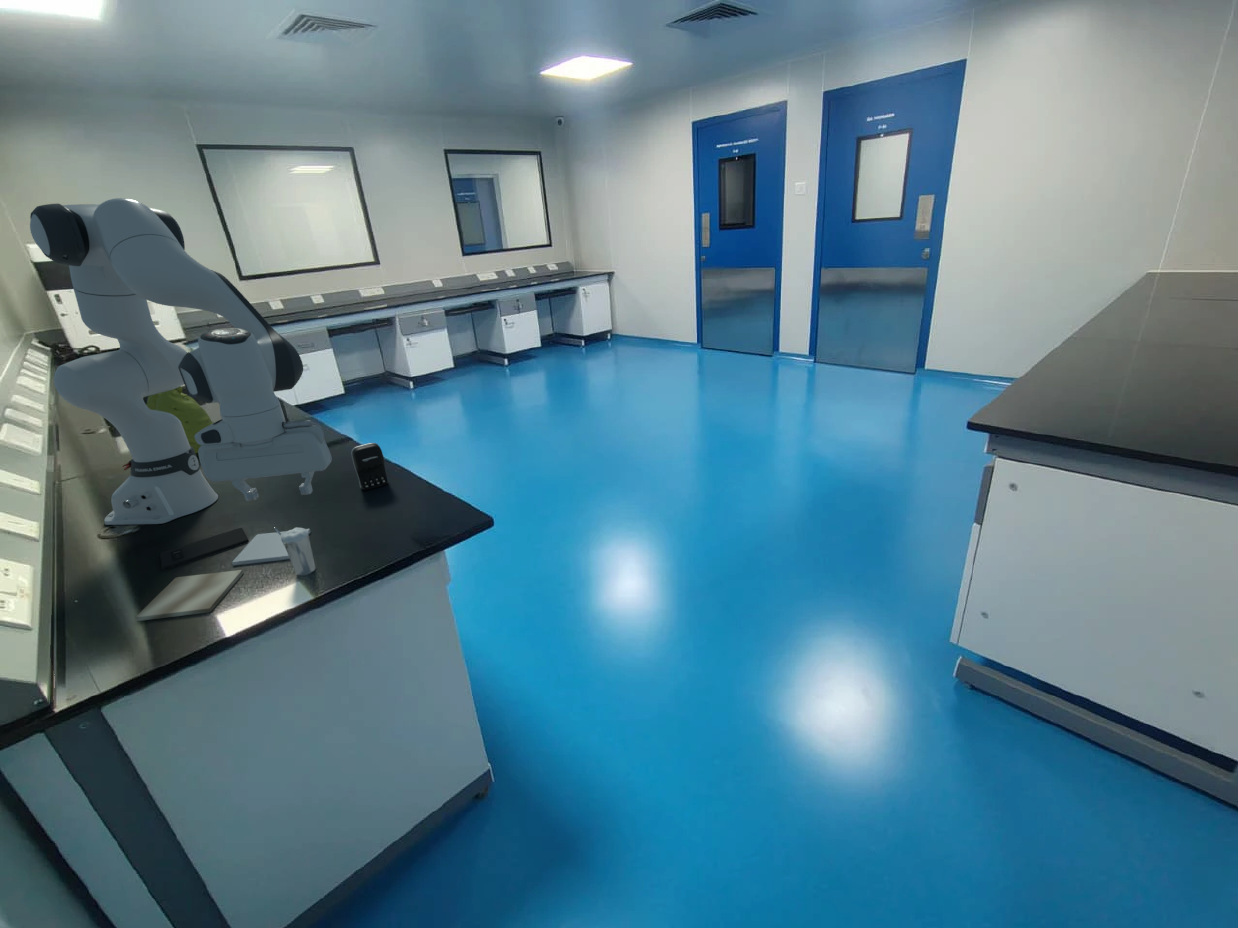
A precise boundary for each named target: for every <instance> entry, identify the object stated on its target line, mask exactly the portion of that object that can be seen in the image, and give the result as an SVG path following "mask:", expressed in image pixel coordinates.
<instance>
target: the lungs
mask: <svg viewBox="0 0 1238 928" xmlns="http://www.w3.org/2000/svg"><path fill="white" fill-rule="evenodd" d="M145 404H146V405H147V407H148V408H149V409H150V410H157V411H163V412H167V413H170V414H172V415H174V416H176V417H177V418H178V419H179V420H180V421H181V424H182V426H183V429H184V431H185V434H186V437H187V439H188V442H189V444H190V446H192V447H193V449H194V451H195V454H196V455H197V454H198V451H199V448H200V447H201V446H202V445H199V444H198V443H197V442H196V440H195V437H194V436H195V434H196V433H198V432H199V431H200V430H202V429H203V428H205V427H207V426H209V425H211V424H213V423H215V422H214V421H212V419H211V416H210V415H209V414H208V413H207V410H205V409H204V408H203V407H202V406H201V405H200V404H199V403H198V402H197V401H196V399H195V398H193V397H191V396H190V395H188V394H186V393H184V392H183V388H182V386H180V387H178V388H176V389H173V390H170V391H166V392H162V393H158V394H154V395H151V396H147V401H146V403H145Z"/></svg>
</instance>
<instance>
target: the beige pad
mask: <svg viewBox="0 0 1238 928" xmlns="http://www.w3.org/2000/svg"><path fill="white" fill-rule="evenodd" d="M243 574H244V571H243V569H238V570H237V569H236V570H230V571H229V570H227V571H219V572H211V573H203V574H195V575H185V576H178V577H177V576H176V577H175V578H174V579H173V580H172V581H171V582H170V583H169V584H168V585H166V587H164V588H163V590H161V591H160V592H159V593H158V594H157V595H156V596H155V597H154V598H153V599H152V600H151V601H150V602H149V603H148V604H146V606H145V607H144V608H143V609H142V610H141V611H140V612H138V614H137V615H135V617H134V618H135V620H136V622H140V621H141V622H142V621H148V620H156V619H164V618H173V617H180V616H182V617H183V616H191V615H198V614H205V613H206V614H207V613H211V612H212V611H213V610H214V609H215V608H216V607H217V605H218V604H219V603H220V602H221V601H222V599H223V598H224V597H225V596H226V595H227V594H228V592H229V591H230V590H232V588H233V586H234V585H235V584H236V583H237V582H238V580H239V579H240V578H241V577H242V576H243Z"/></svg>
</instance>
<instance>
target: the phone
mask: <svg viewBox="0 0 1238 928" xmlns="http://www.w3.org/2000/svg"><path fill="white" fill-rule="evenodd" d="M249 543H250V540H249V538H248V537H247V534H246V532H245V530H244V528H243V527H238V528H234V529H231V530H229V531H226V532H225V531H224V532H222V533H218V534H216V535H213V536H209V537H206V538H203V539H200V540H196V541H194V542H190V543H188V544H183V545H182V546H177V547H175V548H172V549H168V550H164V551H162V552H159V560H160V563H161V564H160V565H161V568H162V570H163V571H166V570H170V569H173V568H176V567H179V566H181V565H184V564H188V563H191V562H194V561H197V560H200V559H202V558H203V559H204V558H206V557H210V556H212V555H215V554H219V553H221V552H223V551H224V552H225V551H227V550H230V549H233V548H236V547H239V546H242V545H244V544H245V545H246V544H249Z"/></svg>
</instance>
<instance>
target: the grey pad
mask: <svg viewBox="0 0 1238 928" xmlns="http://www.w3.org/2000/svg"><path fill="white" fill-rule="evenodd" d="M305 529H306V530H307V531H308V534H309V535H310V534H311V533H312V532H311V529H310V528H305ZM287 531H288V530H285V531H279V532H280V533H281V534H282V535H283V534H285V533H286V532H287ZM283 560H284V561H285V560H290V558H289V555H288V553H287V551H286V549H285V547H284V545H283V543H282V541H281V536H280V535H279V534H278V532H277V531H276V532H268V533H258V534H256V535H255V536H254V537H253V538H252V539H251V540H250V541H249V542H248V543H247V544H246V545H245V547H244V548H243V549H242V551H240V552H239V554H238V555H237V556H236V557H235V558H234V559H233V561H231V563H232V565H233V566H240V565H241V566H242V565H247V564H257V563H267V562H274V561H275V562H276V561H283Z"/></svg>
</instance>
